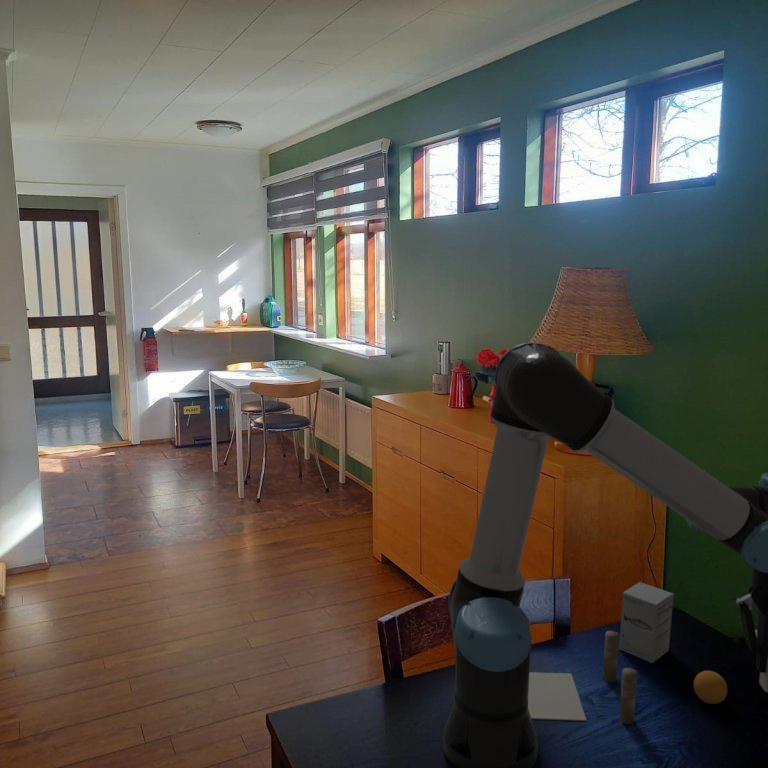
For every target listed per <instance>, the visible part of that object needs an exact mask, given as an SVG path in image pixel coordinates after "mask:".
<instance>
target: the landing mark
mask: <svg viewBox="0 0 768 768" xmlns="http://www.w3.org/2000/svg"><path fill="white" fill-rule="evenodd" d="M528 709H529V712H530V715H531V719H532V720H544V721H545V720H549V721H553V720H554V721H571V722H572V721H574V722H575V721H578V722H586V721H587V718H586V715H585V714H586V713H585V712H584V709H583V705H582V702H581V699H580V696H579V693H578V689H577V687H576V683H575V681H574V677H573V675H572V673H566V672H565V673H564V672H532V671H529V692H528Z"/></svg>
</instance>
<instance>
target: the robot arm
mask: <svg viewBox="0 0 768 768" xmlns="http://www.w3.org/2000/svg"><path fill="white" fill-rule="evenodd" d="M494 381H495V386H496V387H495V388H496V389H495V393H494V398H493V404H492V407H491V408H492V409H491V413H490V419H491V421H492V422H493V423H494V426H495V427H496V432H495V433H496V434H495V438H494V442H493V447H492V452H491V456H490V462H489V465H488V466H489V467H488V470H487V475H486V480H485V485H484V490H483V494H482V499H481V504H480V509H479V513H478V518H477V522H476V529H475V532H474V537H473V542H472V547H471V550H470V551H471V552H470V556H469V557H468V558H466V559H463V560H462V561H461V562H460V563H459V566H458V572H457V576H456V578H455V580H453V583H452V585H451V587H450V590H449V592H448V593H449V594H448V598H447V599H448V602H447V604H448V606H447V607H448V613H449V615H450V622H451V630H452V638H453V648H454V662H455V663H454V666H455V669H454V670H455V671H454V673H455V674H454V700H453V705H452V708H451V710H450V713H449V715H448V717H447V720H446V722H445V725H444V728H443V737H442V739H443V740H442V742H443V744H442V745H443V746H442V748H443V751H444V755H445V756H446V757H447V759H448V760H449V762H450V763H451V764H452V765H453V766H454V767H455V768H533V767H534V766H535V764H536V761H537V759H538V750H539V749H538V747H539V740H538V735H537V732H536V728H535V725H534V722H533V719H531V715H530V712H529V709H528V692H529V672H530V666H531V665H530V664H531V663H530V662H531V661H530V660H531V659H530V658H531V648H532V641H533V640H532V639H533V638H532V630H531V624H530V620H529V618H528V616H527V614H526V612H525V611H524V610H523V609H522V608H521V607H520V606H521V603H522V598H523V594H524V589H525V584H526V578H525V577H524V575H523V574H522V572H521V570H520V565H521V560H522V557H523V553H524V552H523V551H524V549H525V548H524V546H525V543H526V539H527V535H528V530H529V526H530V520H531V516H532V514H533V513H532V512H533V508H534V503H535V499H536V495H537V490H538V486H539V481H540V476H541V472H542V469H543V465H544V464H543V463H544V459H545V454H546V449H547V446H548V441H549V439H551V438H553V439H555V440H556V441H558V442H559V443H562V445H564V446H566V447H567V448H569V449H570V450H572V451H574V452H576V453H577V452H582V451H585V452H587V453H589V454H590V455H591V456H593V457H594V458H596V459H597V460H599V461H601V462H602V463H603V464H605V465H606V466H608V467H609V468H610V469H612V470H614V471H615V472H617V473H618V474H620V475H621V476H623V477H624V478H626V479H627V480H629V481H630V482H631V483H633V484H634V485H635V486H637V487H638V488H640V489H642V490H643V491H645V492H646V493H648V494H649V495H651V496H652V497H654V498H655V499H657V500H658V501H659V502H661V503H662V504H664V505H666V506H667V507H669V508H670V509H671V510H673V511H674V512H676V513H677V514H679V515H680V516H682V517H683V518H684V519H685V521H686V524H687V525H688V527H689V529H691V530H692V531H694V532H703V533H705V534H706V533H707V534H708V535H710V536H712V537H713V538H714V539H716V540H717V541H718V542H720V543H721V544H723V546H725V547H726V548H728V549H730V551H733V552H734V553H736V554H737V555H739V557H741V558H742V559H743V561H744V562H745V564H748V565H749V566H751V567H752V571H751V582H752V583H751V586H750V587H749V589H748V593H747V594H746V595H744V596H742V597H741V596H739V595H738V596H735V597H734V600H733V601H734V603H735V604H736V607H737V608H738V609H739V613H740V614H739V615H740V619H741V623H742V624H741V625H742V629H743V630H742V631H743V635H744V641H745V645H746V646H747V648H748V649H749V650H750V651H751V653H752V654H756V659H755V668H756V669H757V670H758V672H759V679H758V680H759V683H758V684H760V687H761V688H762V690H764V692H765V693H768V472H765V473H762V474H761V476H760V479H759V481H758V485H751V486H727V485H725V484H724V483H723V482H721V481H719V480H718V479H717V478H716V477H714V476H713V475H711V474H709V472H707V471H705V470H704V469H703V468H701V467H700V466H698V465H697V464H696V463H694V462H693V461H692V460H689V459H688V458H687V457H685V456H684V455H682V454H681V453H679V452H678V451H677V450H675V448H674V449H673V448H672V447H671V446H669V445H668V444H666V443H665V442H664V441H662V440H660V439H659V438H657V437H656V436H655V435H653V434H652V433H650V432H649V431H647V430H646V429H645V428H643V427H642V426H640V425H639V424H637V423H636V422H634V421H633V420H632V419H630V418H629V417H627V416H626V415H625V414H623V413H621V411H619V410H617V409H616V407H615V401H614V399H613V398H612V397H610V396H609V395H607V394H606V393H604V392H603V391H602V390H600V389H599V388H598V387H597V386H596V385H595V384H594V383H592V382H591V381H590V380H589V379H588V378H587V377H586V376H585V375H584V374H583V373H582V372H580V370H579V369H578V368H577V367H576V366H575V365H574V364H573V363H572V362H571V361H570V360H569V359H567V358H566V357H565V356H563V355H562V354H561V353H560V352H559V351H558V350H556V349H555V348H554V347H552V346H550V345H546V344H543V343H540V342H525V343H520V344H517V345H514V346H513V347H511V348H509V349H508V350H507V351H506V352H505V353H504V354H503V355H502V356H501V358H500V359H499V361H498V363H497V365H496V368H495V373H494ZM753 603H754V604H755V605H756V607H757V614H758V618H757V619H758V621H757V631H756V627H755V622H754V616H753V613H752V610H753ZM756 632H757V633H756Z"/></svg>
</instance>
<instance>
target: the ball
mask: <svg viewBox="0 0 768 768" xmlns="http://www.w3.org/2000/svg"><path fill="white" fill-rule="evenodd" d="M693 689H694V692H695V695H696V696H697V697H698V699H699V700H701V701H702V702H704V703H705V704H709V705H717V704H720V703H721V702H723V701H724V700H725V698H726V697H727V694H728V685H727V682H726V681H725V679H724V678H723V677H722V676H721V675H720V674H719V673H717V672H715V671H713V670H703V671H701V672H699V673H698V674H696V675H695V678H694V680H693Z"/></svg>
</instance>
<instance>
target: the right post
mask: <svg viewBox="0 0 768 768" xmlns="http://www.w3.org/2000/svg"><path fill="white" fill-rule="evenodd" d="M621 672H622V673H621V688H620V701H619V702H620V705H619V720H620V722H621V723H623V724H626V725H632V724H633V723H634V722H635V716H636V715H635V714H636V713H635V712H636V699H637V698H636V697H637V696H636V695H637V683H638V671H637V670H636V669H634V668H631V667H624V668H622V670H621Z"/></svg>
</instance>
